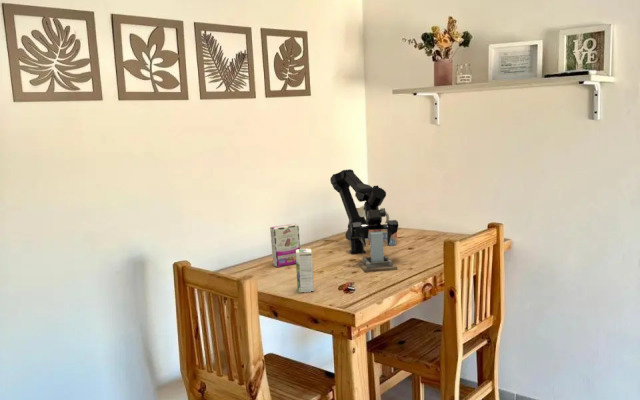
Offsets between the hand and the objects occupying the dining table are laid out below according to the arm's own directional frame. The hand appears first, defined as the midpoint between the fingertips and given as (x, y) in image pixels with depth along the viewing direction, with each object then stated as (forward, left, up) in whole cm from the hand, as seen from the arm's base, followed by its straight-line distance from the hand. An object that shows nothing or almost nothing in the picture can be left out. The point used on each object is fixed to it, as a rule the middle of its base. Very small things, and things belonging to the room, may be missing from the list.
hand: (376, 245), depth 230 cm
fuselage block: (-1, 0, -8) cm, 8 cm away
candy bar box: (-17, -35, -9) cm, 40 cm away
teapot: (-65, +12, -9) cm, 67 cm away
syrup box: (+21, -31, -9) cm, 38 cm away
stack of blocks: (-42, +8, -9) cm, 43 cm away
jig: (-1, 0, -9) cm, 9 cm away
